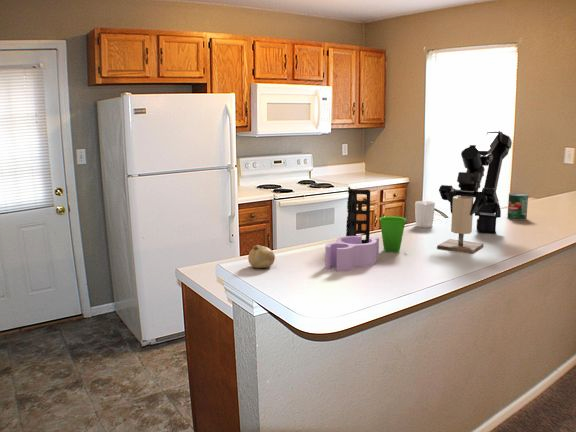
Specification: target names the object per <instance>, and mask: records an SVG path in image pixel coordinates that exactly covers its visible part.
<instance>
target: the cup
mask: <svg viewBox="0 0 576 432" xmlns="http://www.w3.org/2000/svg"><path fill="white" fill-rule="evenodd" d="M378 219H379V220H378V221H380V230H381V239H382V245H383V250H384V252H386V253H393V254H394V253H399V252H400V250H401V245H402V242H403V241H402V240H403V235H404V229H405V226H406V225H405V224H406V221H407V218H405V217H401V216H394V215H393V216H392V215H391V216H389V215H388V216H381V217H379V218H378Z"/></svg>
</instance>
